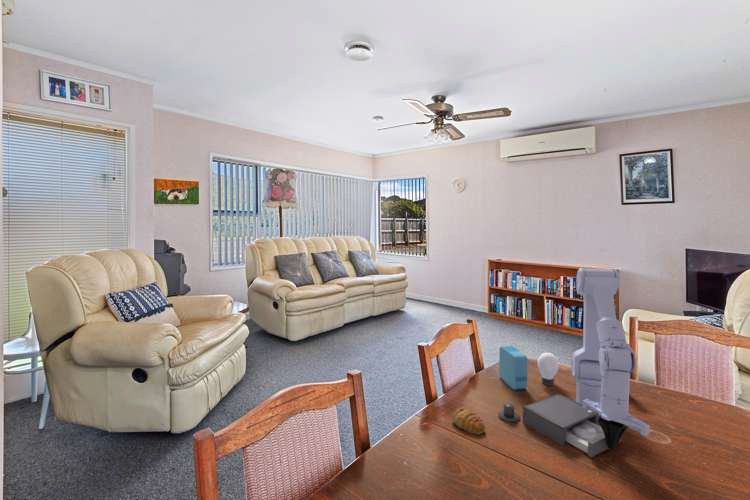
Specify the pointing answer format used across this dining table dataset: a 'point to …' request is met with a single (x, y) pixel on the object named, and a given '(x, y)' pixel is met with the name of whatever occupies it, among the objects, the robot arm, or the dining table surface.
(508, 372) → the data package
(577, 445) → the tray
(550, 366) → the light bulb
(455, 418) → the pastry
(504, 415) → the disc
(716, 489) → the dining table surface
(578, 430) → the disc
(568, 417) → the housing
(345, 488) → the dining table surface
